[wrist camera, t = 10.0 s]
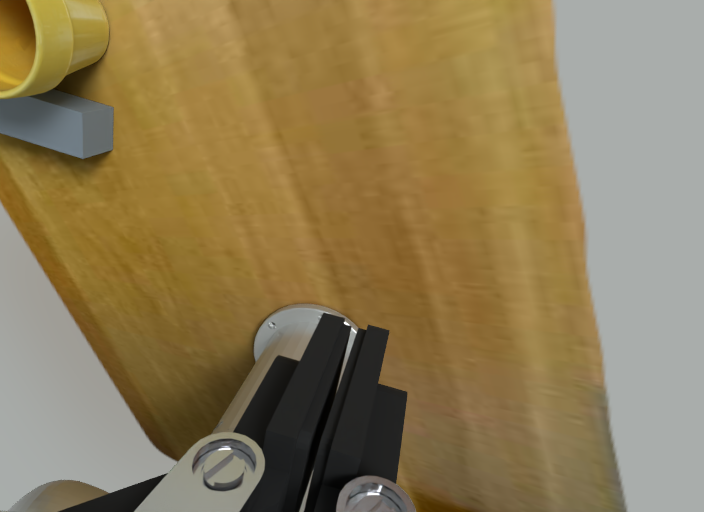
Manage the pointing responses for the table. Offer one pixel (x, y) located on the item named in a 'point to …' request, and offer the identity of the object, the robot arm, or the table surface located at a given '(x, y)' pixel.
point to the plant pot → (48, 42)
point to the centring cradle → (59, 122)
